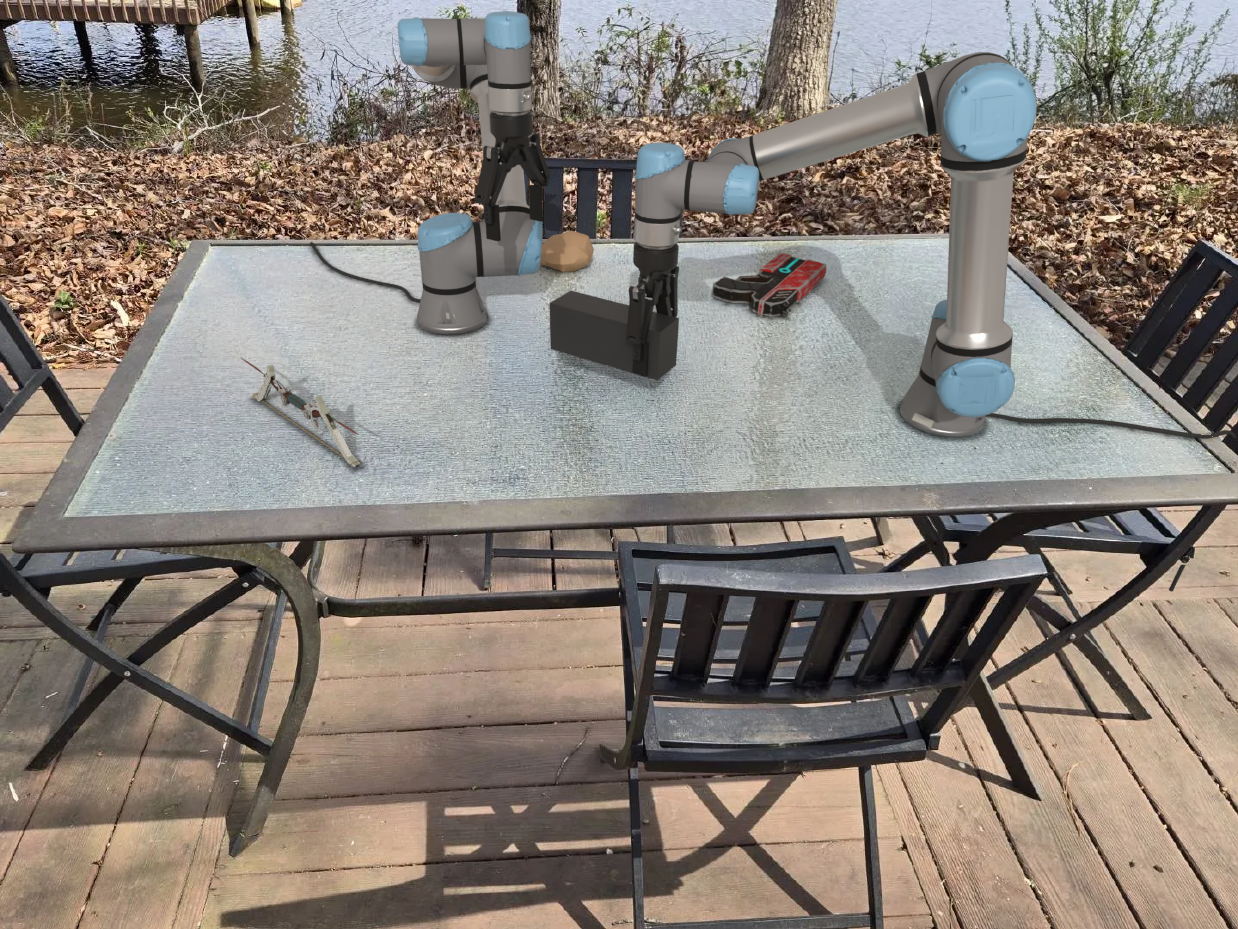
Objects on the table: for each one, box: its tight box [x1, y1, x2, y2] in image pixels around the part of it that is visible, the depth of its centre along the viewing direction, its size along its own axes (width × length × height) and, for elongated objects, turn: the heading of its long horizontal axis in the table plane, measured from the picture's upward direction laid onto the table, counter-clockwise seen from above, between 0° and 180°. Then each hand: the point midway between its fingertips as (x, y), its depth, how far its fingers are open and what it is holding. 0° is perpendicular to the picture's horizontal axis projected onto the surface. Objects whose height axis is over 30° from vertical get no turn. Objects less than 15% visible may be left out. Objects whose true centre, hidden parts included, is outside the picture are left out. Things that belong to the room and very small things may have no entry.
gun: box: [711, 252, 827, 318], centre depth 215 cm, size 4×31×19 cm
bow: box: [240, 356, 362, 468], centre depth 154 cm, size 39×2×10 cm, turn 47°
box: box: [549, 290, 680, 381], centre depth 159 cm, size 23×7×9 cm, turn 59°
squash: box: [540, 230, 595, 273], centre depth 224 cm, size 11×20×9 cm, turn 90°
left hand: (515, 229), depth 166 cm, fingers open, 13 cm apart
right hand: (650, 365), depth 158 cm, fingers closed on box, 7 cm apart
